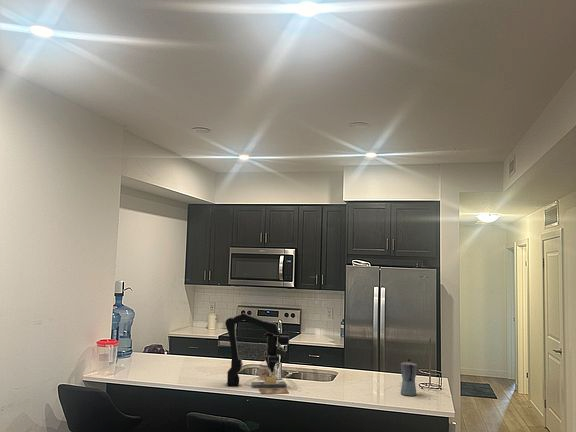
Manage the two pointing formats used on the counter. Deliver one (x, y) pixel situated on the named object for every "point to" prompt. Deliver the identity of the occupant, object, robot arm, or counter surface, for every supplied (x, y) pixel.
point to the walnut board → (274, 391)
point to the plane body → (268, 385)
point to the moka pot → (408, 378)
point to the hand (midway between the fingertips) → (270, 370)
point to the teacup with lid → (265, 370)
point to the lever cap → (270, 379)
